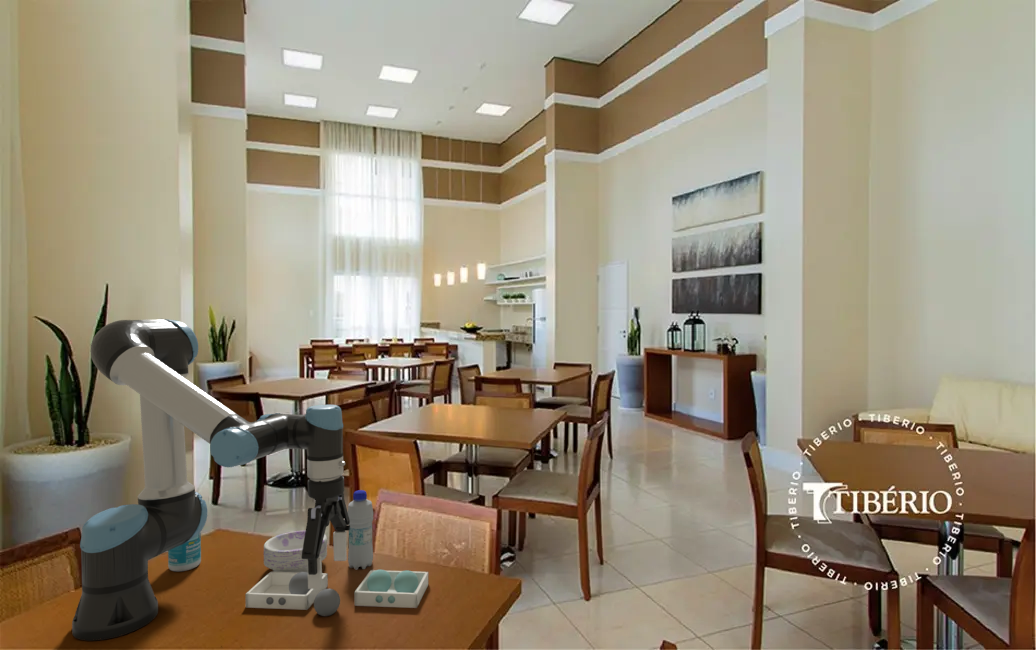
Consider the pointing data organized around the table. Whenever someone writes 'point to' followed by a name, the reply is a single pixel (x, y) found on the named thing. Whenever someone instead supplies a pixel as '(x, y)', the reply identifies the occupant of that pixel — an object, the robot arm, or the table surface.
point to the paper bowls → (288, 552)
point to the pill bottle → (185, 555)
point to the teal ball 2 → (406, 582)
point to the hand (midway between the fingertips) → (328, 573)
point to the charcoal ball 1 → (299, 584)
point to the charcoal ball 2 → (327, 602)
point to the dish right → (391, 593)
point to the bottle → (360, 531)
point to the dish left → (281, 593)
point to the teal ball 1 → (379, 581)
